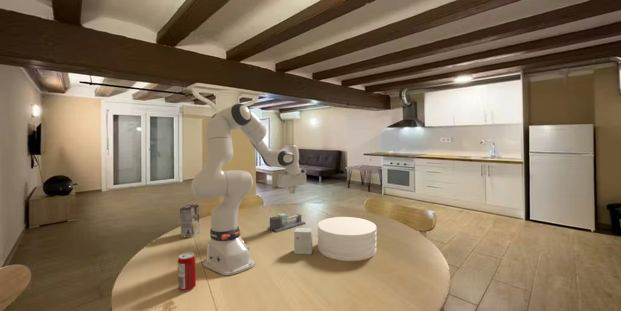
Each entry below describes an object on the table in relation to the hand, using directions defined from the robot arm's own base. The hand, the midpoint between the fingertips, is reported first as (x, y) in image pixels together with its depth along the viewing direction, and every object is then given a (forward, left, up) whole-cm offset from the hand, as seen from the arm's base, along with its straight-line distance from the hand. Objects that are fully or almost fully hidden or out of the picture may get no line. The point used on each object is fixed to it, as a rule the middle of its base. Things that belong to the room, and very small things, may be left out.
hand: (292, 193), depth 161 cm
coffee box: (+27, +51, -20) cm, 62 cm away
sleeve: (+1, +7, -18) cm, 19 cm away
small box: (-34, +21, -20) cm, 45 cm away
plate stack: (-45, +3, -21) cm, 49 cm away
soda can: (-28, +71, -20) cm, 79 cm away
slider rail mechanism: (+1, +3, -20) cm, 20 cm away
